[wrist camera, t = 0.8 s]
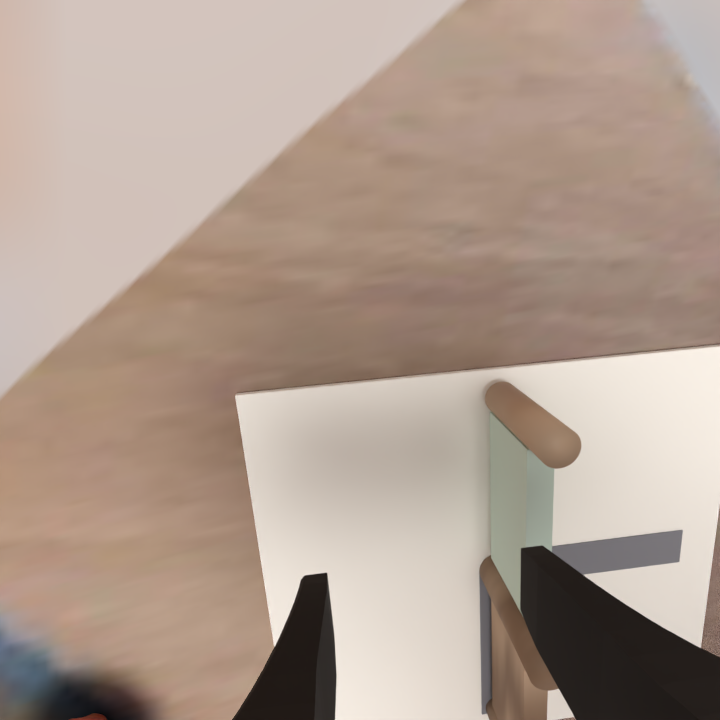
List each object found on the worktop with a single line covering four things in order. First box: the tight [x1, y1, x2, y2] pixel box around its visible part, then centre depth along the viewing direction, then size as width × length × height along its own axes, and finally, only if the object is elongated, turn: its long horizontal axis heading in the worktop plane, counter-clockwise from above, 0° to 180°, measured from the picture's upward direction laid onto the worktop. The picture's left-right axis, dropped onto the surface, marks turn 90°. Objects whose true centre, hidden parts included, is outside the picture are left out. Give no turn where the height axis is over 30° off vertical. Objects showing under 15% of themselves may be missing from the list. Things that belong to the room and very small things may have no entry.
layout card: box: [235, 344, 720, 720], centre depth 23 cm, size 20×22×1 cm
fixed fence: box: [479, 555, 559, 720], centre depth 21 cm, size 10×2×6 cm, turn 5°
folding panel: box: [485, 381, 581, 616], centre depth 18 cm, size 8×1×5 cm, turn 5°
